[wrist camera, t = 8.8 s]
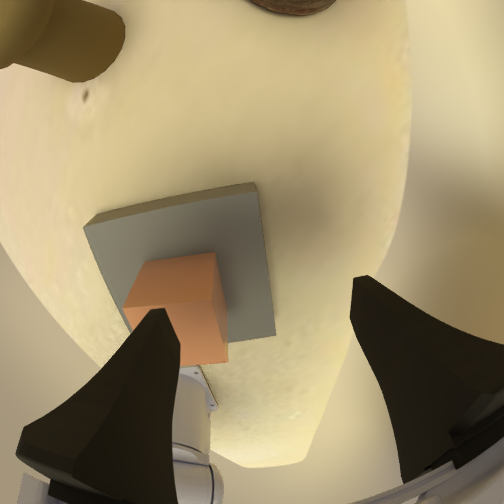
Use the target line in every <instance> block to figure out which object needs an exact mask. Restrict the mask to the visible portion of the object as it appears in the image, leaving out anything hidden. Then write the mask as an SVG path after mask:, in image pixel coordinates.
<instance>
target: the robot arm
mask: <svg viewBox="0 0 504 504" xmlns="http://www.w3.org/2000/svg"><path fill="white" fill-rule="evenodd" d="M350 320H351V323H352V326H353V329H354V332H355V335H356V337H357V340H358V342H359V344H360V346H361V348H362V350H363V352H364V354H365V356H366V358H367V360H368V362H369V364H370V366H371V368H372V370H373V372H374V374H375V376H376V378H377V381H378V383H379V385H380V388H381V390H382V393H383V396H384V399H385V402H386V405H387V409H388V412H389V416H390V419H391V423H392V427H393V431H394V436H395V440H396V445H397V450H398V457H399V463H400V471H401V477H402V480H403V483H404V484H403V485H401V486H398V487H396V488H393V489H391V490H388V491H386V492H383V493H380V494H378V495H375V496H372V497H369V498H366V499H363V500H360V501H356V502H353V503H349V504H401V503H403V502H405V501H407V500H410V499H412V498H414V497H416V496H418V495H420V494H421V495H420V496H419V497H418V500H417V502H416V503H415V504H503V503H504V345H503V344H499V343H495V342H492V341H488V340H485V339H482V338H479V337H476V336H473V335H471V334H468V333H466V332H463V331H461V330H459V329H456V328H454V327H452V326H450V325H448V324H446V323H444V322H442V321H440V320H438V319H436V318H434V317H432V316H430V315H429V314H427V313H425V312H424V311H422V310H420V309H419V308H417V307H415V306H414V305H412V304H411V303H409V302H407V301H406V300H404V299H403V298H402V297H400V296H398V295H397V294H396V293H394V292H393V291H391V290H390V289H388V288H387V287H385V286H384V285H382V284H381V283H379V282H378V281H376V280H375V279H373V278H372V277H370V276H368V275H365V276H360V277H355V278H353V289H352V300H351V309H350ZM180 352H181V344H180V342H179V339H178V337H177V335H176V333H175V330H174V328H173V326H172V323H171V321H170V319H169V316H168V314H167V312H166V309H165V308H157V309H150V310H149V312H148V313H147V314H146V315H145V316H144V318H143V319H142V320H141V321H140V323H139V324H138V325H137V326H136V328H135V329H134V330H133V332H132V333H131V334H130V335H129V337H128V338H127V339H126V340H125V342H124V343H123V344H122V345H121V347H120V348H119V349H118V350H117V351H116V353H115V354H114V355H113V356H112V357H111V358H110V360H109V361H108V362H107V363H106V364H105V365H104V366H103V367H102V369H101V370H100V371H99V372H98V373H97V374H96V375H95V376H94V377H93V378H92V379H91V380H90V381H89V382H88V383H87V384H85V385H84V386H83V387H82V388H81V389H80V390H78V391H77V392H76V393H75V394H74V395H73V396H71V397H70V398H69V399H68V400H66V401H65V402H64V403H62V404H61V405H60V406H58V407H57V408H55V409H54V410H52V411H51V412H49V413H48V414H46V415H45V416H43V417H41V418H39V419H38V420H36V421H34V422H32V423H30V424H29V425H27V426H25V427H24V428H23V431H22V434H21V437H20V440H19V443H18V447H17V450H16V456H17V457H18V458H19V459H20V460H21V461H22V462H24V463H25V464H27V465H28V466H30V467H31V468H33V469H34V470H36V471H38V472H39V473H41V474H43V475H44V476H46V477H48V478H50V479H51V480H50V484H48V483H46V482H43V481H41V480H39V479H37V478H35V477H33V476H31V475H28V474H26V473H24V474H23V478H22V482H21V486H20V491H19V496H18V501H17V504H222V501H223V494H224V486H223V485H224V484H223V478H222V474H221V472H220V470H219V469H218V468H217V466H216V465H215V464H214V463H209V455H208V454H209V451H210V413H211V411H215V410H218V405H217V403H216V401H215V399H214V397H213V395H212V393H211V391H210V389H209V387H208V384H207V382H206V380H205V378H204V376H203V374H202V371H201V369H200V367H199V366H198V365H186V366H180ZM422 493H423V494H422Z"/></svg>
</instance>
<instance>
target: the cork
mask: <svg viewBox="0 0 504 504" xmlns="http://www.w3.org/2000/svg"><path fill="white" fill-rule="evenodd" d="M124 39H125V25H124V23H123V21H122V18H121V17H120V16H119V15H118V14H117V13H115V12H114V11H111V10H109V9H106V8H104V7H101V6H98V5H95V4H92V3H89V2H86V1H83V0H0V69H3V68H6V67H8V66H10V65H11V64H13V63H16V64H19V65H23V66H26V67H29V68H32V69H35V70H39V71H42V72H45V73H48V74H50V75H53V76H56V77H59V78H62V79H65V80H67V81H70V82H85V81H88V80H91V79H94V78H95V77H97V76H98V75H100V74H101V73H103V72H104V71H105V70H106V69H107V68H108V67H109V66H110V65H111V64H112V63H113V62H114V61H115V59H116V57H117V56H118V54H119V52H120V51H121V49H122V45H123V42H124Z"/></svg>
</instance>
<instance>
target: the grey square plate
mask: <svg viewBox="0 0 504 504" xmlns="http://www.w3.org/2000/svg"><path fill="white" fill-rule="evenodd" d="M83 229H84V232H85V235H86V237H87V240H88V243H89V245H90V248H91V250H92V253H93V255H94V258H95V260H96V262H97V265H98V267H99V270H100V272H101V274H102V276H103V279H104V281H105V283H106V285H107V288H108V290H109V292H110V294H111V296H112V298H113V300H114V302H115V304H116V306H117V308H118V310H119V312H120V314H121V316H122V318H123V320H124V322H125V324H126V326H127V328H128V330H129V331H130V333H132V332H133V330H132V328H131V326H130V324H129V321H128V319H127V317H126V315H125V313H124V311H123V309H122V308H123V305H124V303H125V301H126V299H127V297H128V294H129V292H130V290H131V288H132V286H133V284H134V281H135V279H136V277H137V275H138V273H139V271H140V269H141V267H142V265H143V263H144V262H146V261H154V260H161V259H168V258H175V257H182V256H189V255H197V254H204V253H211V252H215V254H216V259H217V264H218V269H219V274H220V278H221V283H222V288H223V293H224V297H225V302H226V307H227V322H228V343H230V342H237V341H244V340H251V339H258V338H264V337H270V336H276V329H275V321H274V313H273V305H272V298H271V290H270V282H269V275H268V267H267V260H266V252H265V245H264V238H263V230H262V223H261V216H260V209H259V202H258V195H257V190H256V187H255V184H254V182H249V183H243V184H237V185H231V186H225V187H219V188H214V189H208V190H203V191H197V192H192V193H187V194H182V195H177V196H172V197H168V198H163V199H159V200H154V201H150V202H145V203H141V204H137V205H132V206H128V207H124V208H120V209H116V210H112V211H108V212H104V213H101V214H97V215H96V216H95V217H93V218H92V219H91V220H90V221H89V222H88V223H87V224H86V225H85V226H84V227H83Z"/></svg>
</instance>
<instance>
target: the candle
mask: <svg viewBox="0 0 504 504" xmlns="http://www.w3.org/2000/svg"><path fill="white" fill-rule="evenodd" d="M252 1H253V2H254V3H256V4H259V5H261V6H263V7H266V8H268V9H270V10H273V11H276V12H282V13H289V14H295V15H306V14H312V13H316V12H319V11H322V10H324V9H326V8H328V7H329V6H330V5H332V4H333V3H334V2H335V1H336V0H252Z"/></svg>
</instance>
